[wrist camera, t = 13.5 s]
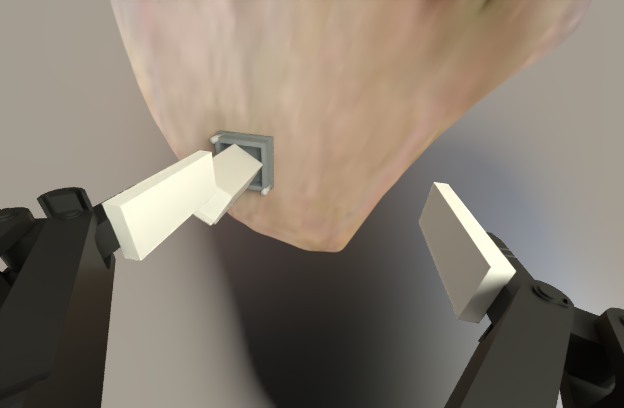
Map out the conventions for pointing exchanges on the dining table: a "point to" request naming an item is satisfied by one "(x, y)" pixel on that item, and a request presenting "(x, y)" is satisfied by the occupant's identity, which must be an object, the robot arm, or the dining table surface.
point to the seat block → (256, 148)
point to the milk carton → (228, 182)
